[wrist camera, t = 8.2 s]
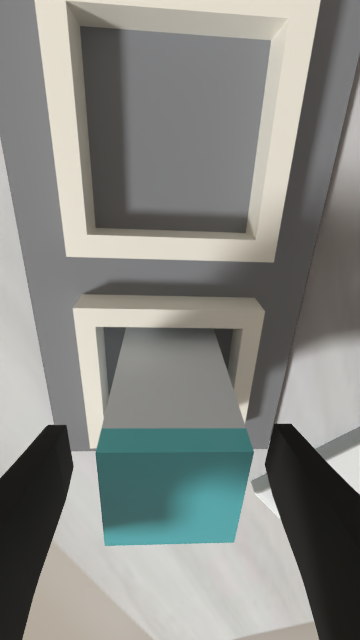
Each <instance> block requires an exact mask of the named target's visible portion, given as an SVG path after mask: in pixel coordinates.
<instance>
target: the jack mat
mask: <svg viewBox="0 0 360 640" xmlns="http://www.w3.org/2000/svg"><path fill="white" fill-rule="evenodd" d="M80 34H81V47H82V60H83V72H84V85H85V98H86V111H87V124H88V136H89V149H90V162H91V175H92V188H93V200H94V213H95V226H96V228H113V229H143V230H173V231H203V232H232V233H246V227H247V220H248V212H249V205H250V197H251V189H252V182H253V174H254V167H255V159H256V151H257V144H258V136H259V129H260V121H261V114H262V106H263V98H264V91H265V83H266V76H267V68H268V60H269V53H270V45H271V40H260V39H246V38H233V37H220V36H206V35H193V34H180V33H166V32H153V31H140V30H126V29H113V28H99V27H86V26H80ZM359 55H360V0H321V1H320V7H319V12H318V18H317V23H316V29H315V35H314V40H313V46H312V51H311V57H310V63H309V68H308V74H307V79H306V85H305V91H304V96H303V102H302V107H301V113H300V119H299V124H298V130H297V135H296V141H295V147H294V152H293V158H292V163H291V169H290V175H289V180H288V186H287V191H286V197H285V203H284V208H283V214H282V219H281V225H280V231H279V236H278V242H277V247H276V253H275V259H274V263H272V262H235V261H199V260H162V259H126V258H89V257H66V250H65V242H64V234H63V226H62V218H61V210H60V202H59V194H58V186H57V178H56V170H55V161H54V153H53V145H52V137H51V129H50V121H49V113H48V105H47V97H46V89H45V81H44V73H43V65H42V57H41V49H40V41H39V32H38V24H37V16H36V8H35V0H0V137H1V143H2V148H3V153H4V159H5V164H6V169H7V175H8V180H9V185H10V191H11V196H12V201H13V207H14V212H15V217H16V223H17V228H18V234H19V239H20V244H21V250H22V255H23V260H24V266H25V271H26V276H27V282H28V287H29V292H30V298H31V303H32V308H33V314H34V319H35V324H36V330H37V335H38V340H39V346H40V351H41V356H42V362H43V367H44V372H45V378H46V383H47V389H48V394H49V399H50V405H51V410H52V415H53V421H54V425H67V431H68V437H69V443H70V449H71V451H96V449H97V448H94V449H90V444H89V436H88V428H87V420H86V411H85V403H84V395H83V387H82V379H81V371H80V363H79V355H78V347H77V339H76V331H75V323H74V315H73V307H74V305H75V304H76V302H77V301H78V300H79V298H80V297H81V295H82V294H95V295H146V296H196V297H246V298H255V299H256V300H257V301H258V303H259V304H260V305H261V307H262V308H263V309H264V311H265V315H264V320H263V326H262V331H261V337H260V343H259V348H258V354H257V359H256V365H255V371H254V376H253V382H252V387H251V393H250V399H249V404H248V410H247V415H246V421H245V426H246V429H247V433H248V436H249V439H250V442H251V445H252V448H253V449H268V445H269V441H270V436H271V432H272V428H273V424H274V419H275V415H276V411H277V406H278V402H279V398H280V394H281V389H282V385H283V381H284V376H285V372H286V368H287V363H288V359H289V355H290V351H291V346H292V342H293V338H294V333H295V329H296V325H297V321H298V316H299V312H300V308H301V303H302V299H303V295H304V291H305V286H306V282H307V278H308V273H309V269H310V265H311V261H312V256H313V252H314V248H315V243H316V239H317V235H318V231H319V226H320V222H321V218H322V213H323V209H324V205H325V201H326V196H327V192H328V188H329V183H330V179H331V175H332V170H333V166H334V162H335V158H336V153H337V149H338V145H339V140H340V136H341V132H342V128H343V123H344V119H345V115H346V110H347V106H348V102H349V98H350V93H351V89H352V85H353V80H354V76H355V72H356V68H357V63H358V59H359ZM103 328H104V341H105V354H106V367H107V379H108V392H109V396H110V392H111V388H112V383H113V379H114V375H115V371H116V367H117V363H118V359H119V355H120V350H121V346H122V342H123V338H124V334H125V330H126V327H103ZM213 329H214V332H215V335H216V338H217V341H218V344H219V347H220V350H221V353H222V356H223V359H224V362H225V365H226V368H227V371H228V364H229V356H230V349H231V341H232V333H233V329H226V328H213Z"/></svg>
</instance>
